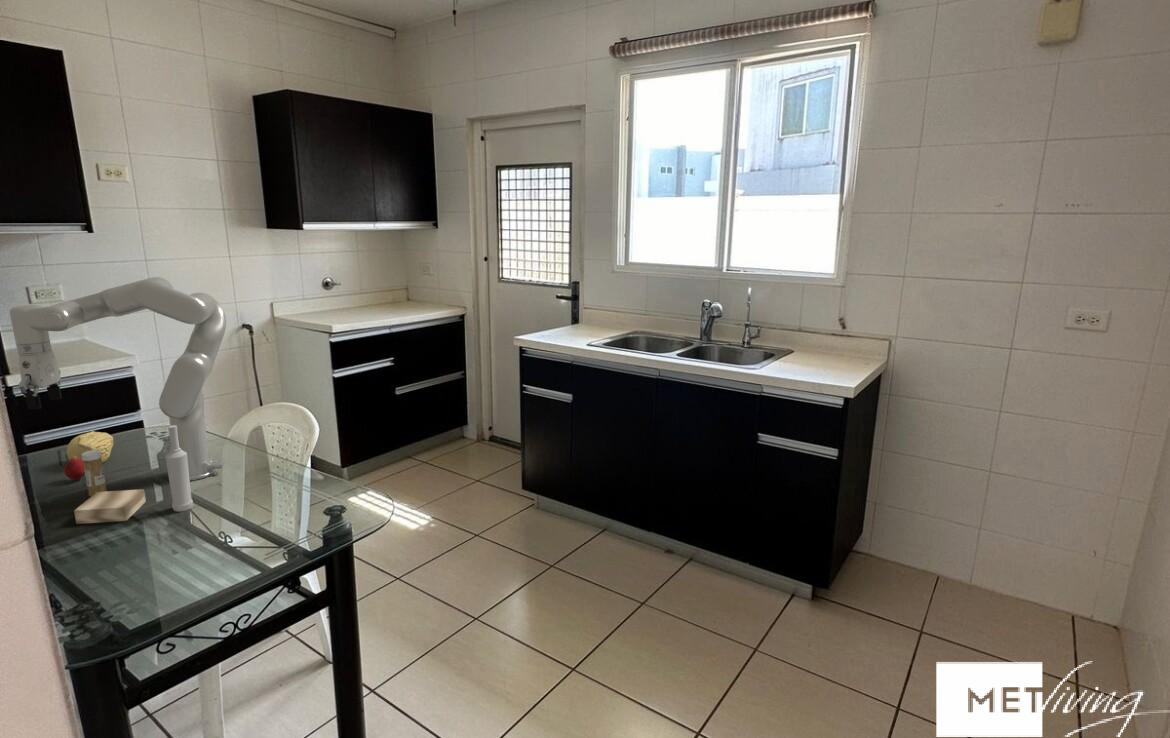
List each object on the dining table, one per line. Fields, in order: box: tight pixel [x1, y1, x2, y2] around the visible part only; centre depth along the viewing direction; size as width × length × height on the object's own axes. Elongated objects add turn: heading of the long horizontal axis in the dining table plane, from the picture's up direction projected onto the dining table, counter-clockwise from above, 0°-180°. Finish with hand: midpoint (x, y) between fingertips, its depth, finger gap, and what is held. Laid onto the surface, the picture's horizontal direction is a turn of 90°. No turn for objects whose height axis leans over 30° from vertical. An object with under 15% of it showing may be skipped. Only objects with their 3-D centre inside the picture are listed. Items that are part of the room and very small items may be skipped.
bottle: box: [164, 425, 194, 513], centre depth 177 cm, size 5×5×25 cm
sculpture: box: [66, 430, 114, 464], centre depth 208 cm, size 12×12×11 cm
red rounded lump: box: [63, 456, 85, 481], centre depth 195 cm, size 6×6×8 cm
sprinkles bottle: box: [82, 450, 108, 497], centre depth 186 cm, size 5×5×13 cm
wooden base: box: [73, 488, 147, 525], centre depth 176 cm, size 12×12×4 cm
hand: (45, 404), depth 185 cm, fingers open, 9 cm apart
